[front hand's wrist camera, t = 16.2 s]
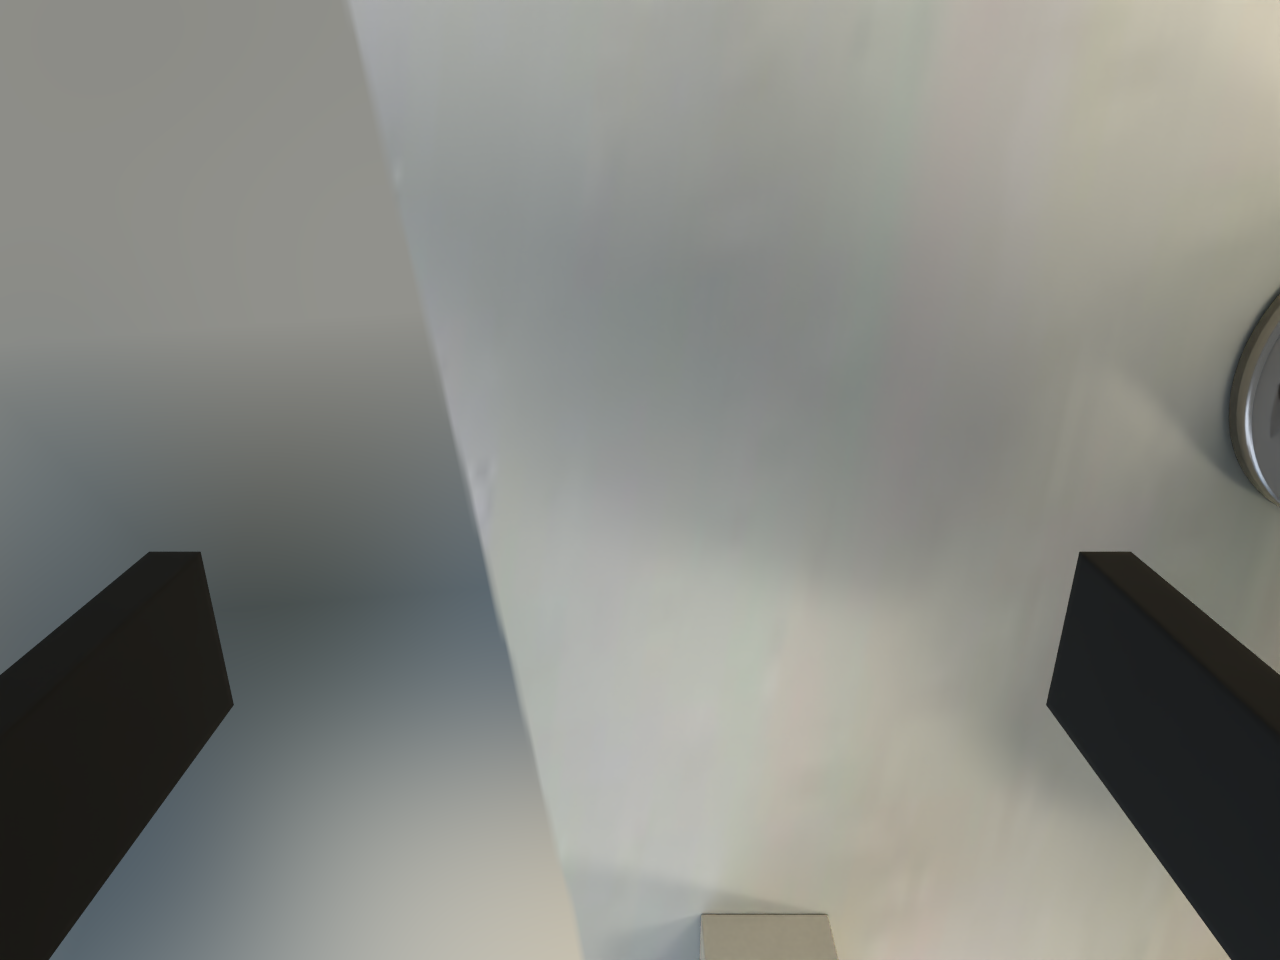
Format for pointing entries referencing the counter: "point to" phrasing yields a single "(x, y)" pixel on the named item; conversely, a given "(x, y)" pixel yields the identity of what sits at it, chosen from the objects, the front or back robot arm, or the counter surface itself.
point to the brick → (766, 937)
